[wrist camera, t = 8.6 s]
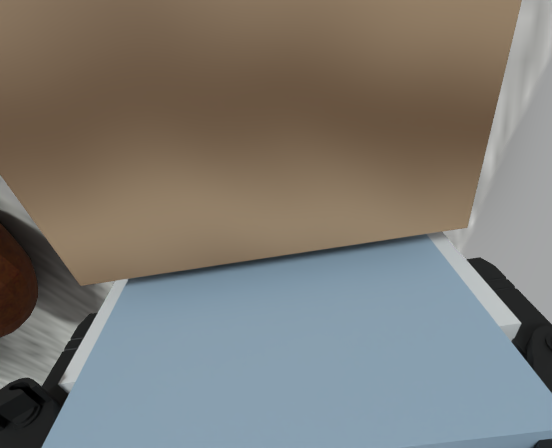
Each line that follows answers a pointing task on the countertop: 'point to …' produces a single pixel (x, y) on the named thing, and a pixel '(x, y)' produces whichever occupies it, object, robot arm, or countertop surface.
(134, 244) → the cabinet
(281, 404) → the block
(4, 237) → the potato
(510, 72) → the countertop surface
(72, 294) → the countertop surface
